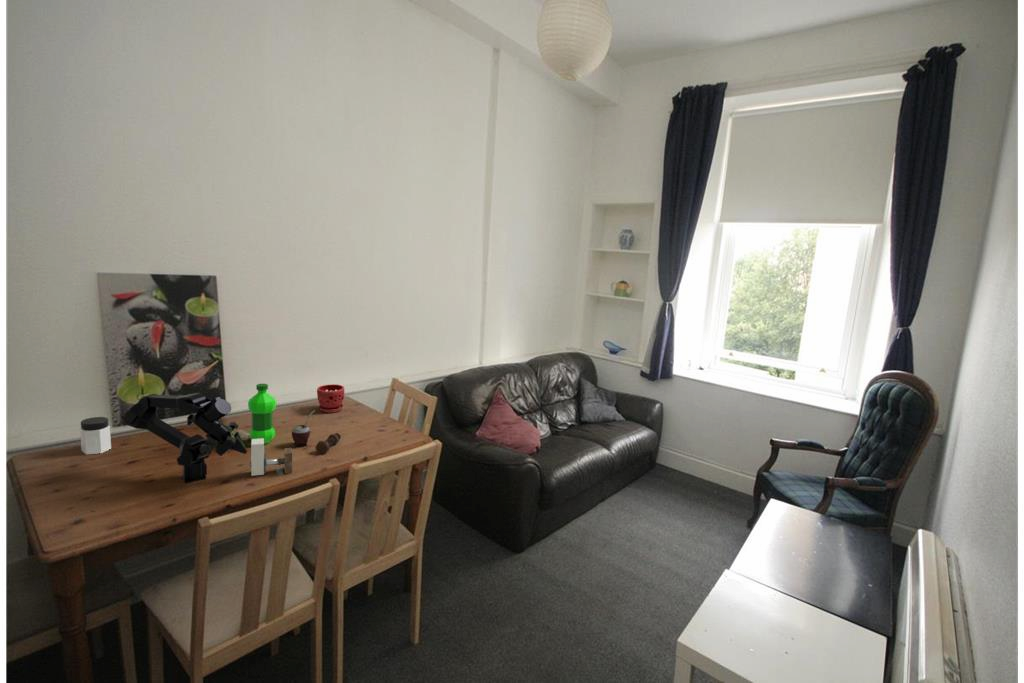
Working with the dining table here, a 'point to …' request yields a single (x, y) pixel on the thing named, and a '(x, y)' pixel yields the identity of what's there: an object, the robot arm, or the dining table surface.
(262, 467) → the white rectangular block
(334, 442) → the brown knobbed cylinder
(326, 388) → the plant pot
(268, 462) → the pipe
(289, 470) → the pipe block
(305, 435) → the mate gourd
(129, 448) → the dining table surface
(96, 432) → the jar
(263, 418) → the plastic bottle
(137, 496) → the dining table surface
